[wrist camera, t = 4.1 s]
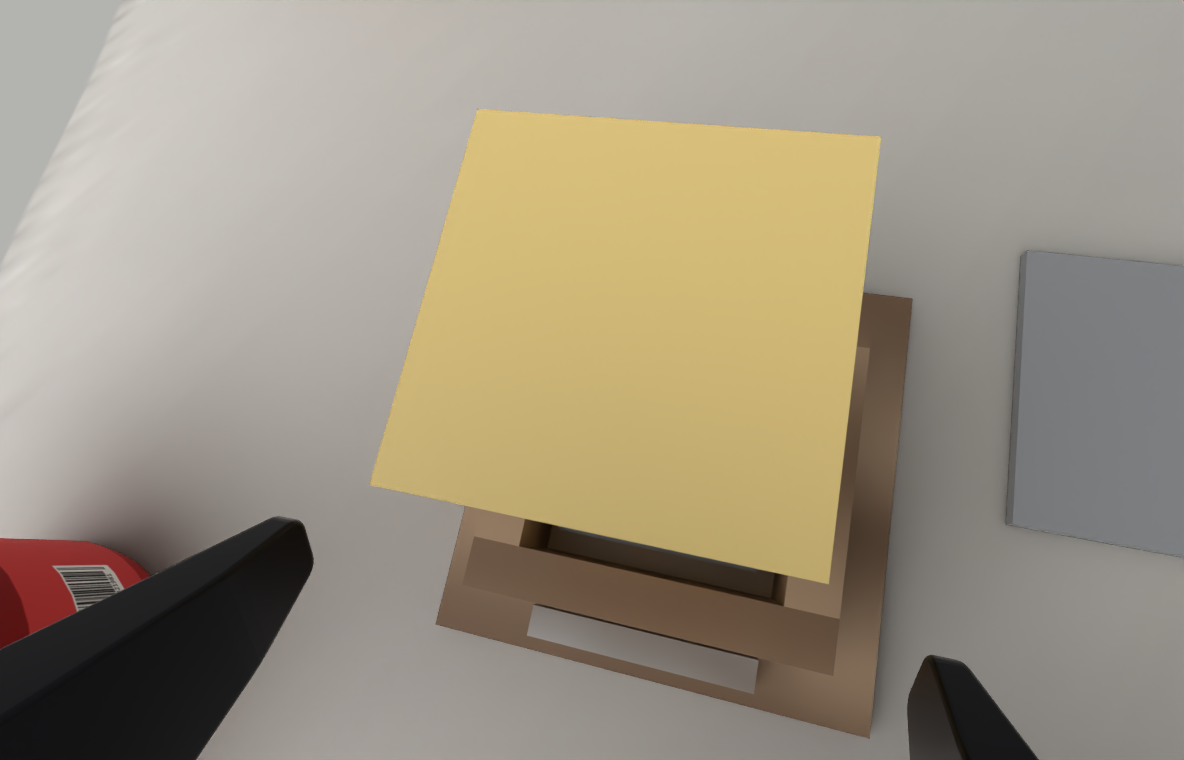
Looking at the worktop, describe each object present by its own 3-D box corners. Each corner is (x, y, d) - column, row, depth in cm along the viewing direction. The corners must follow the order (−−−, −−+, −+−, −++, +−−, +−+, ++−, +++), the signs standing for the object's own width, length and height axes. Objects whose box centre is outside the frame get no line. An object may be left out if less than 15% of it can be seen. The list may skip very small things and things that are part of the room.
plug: (751, 570, 17) (838, 597, 6) (571, 531, 19) (358, 491, 7) (777, 390, 19) (891, 129, 7) (606, 363, 20) (472, 101, 8)
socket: (864, 733, 16) (904, 777, 13) (442, 622, 19) (386, 636, 16) (907, 305, 19) (949, 252, 16) (532, 259, 22) (501, 206, 18)
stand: (1369, 592, 15) (1385, 592, 15) (1005, 524, 17) (1012, 523, 17) (1347, 289, 17) (1361, 283, 17) (1020, 256, 19) (1027, 250, 19)
